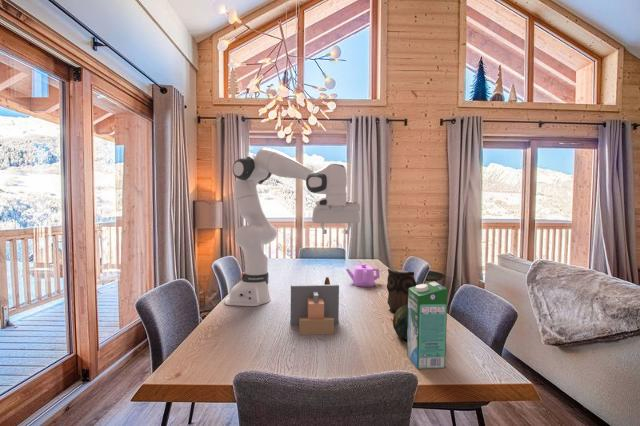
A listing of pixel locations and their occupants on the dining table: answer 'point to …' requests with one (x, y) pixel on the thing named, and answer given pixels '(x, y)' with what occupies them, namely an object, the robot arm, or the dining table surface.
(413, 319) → the milk carton
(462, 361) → the dining table surface
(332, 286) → the board
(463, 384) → the dining table surface
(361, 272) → the teakettle
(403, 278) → the owl
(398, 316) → the squash
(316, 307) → the tall peach box
